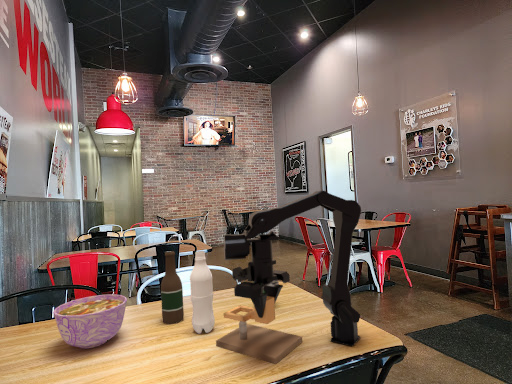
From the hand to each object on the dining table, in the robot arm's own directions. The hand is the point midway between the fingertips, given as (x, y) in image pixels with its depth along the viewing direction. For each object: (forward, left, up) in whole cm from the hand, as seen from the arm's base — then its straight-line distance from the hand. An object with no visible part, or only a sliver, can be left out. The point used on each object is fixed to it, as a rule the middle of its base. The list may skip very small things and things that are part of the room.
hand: (265, 314), depth 87 cm
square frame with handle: (+5, 0, -2) cm, 5 cm away
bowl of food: (+49, +22, -10) cm, 55 cm away
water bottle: (+25, -1, -10) cm, 27 cm away
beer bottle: (+41, -2, -10) cm, 42 cm away
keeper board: (+4, -2, -10) cm, 10 cm away
